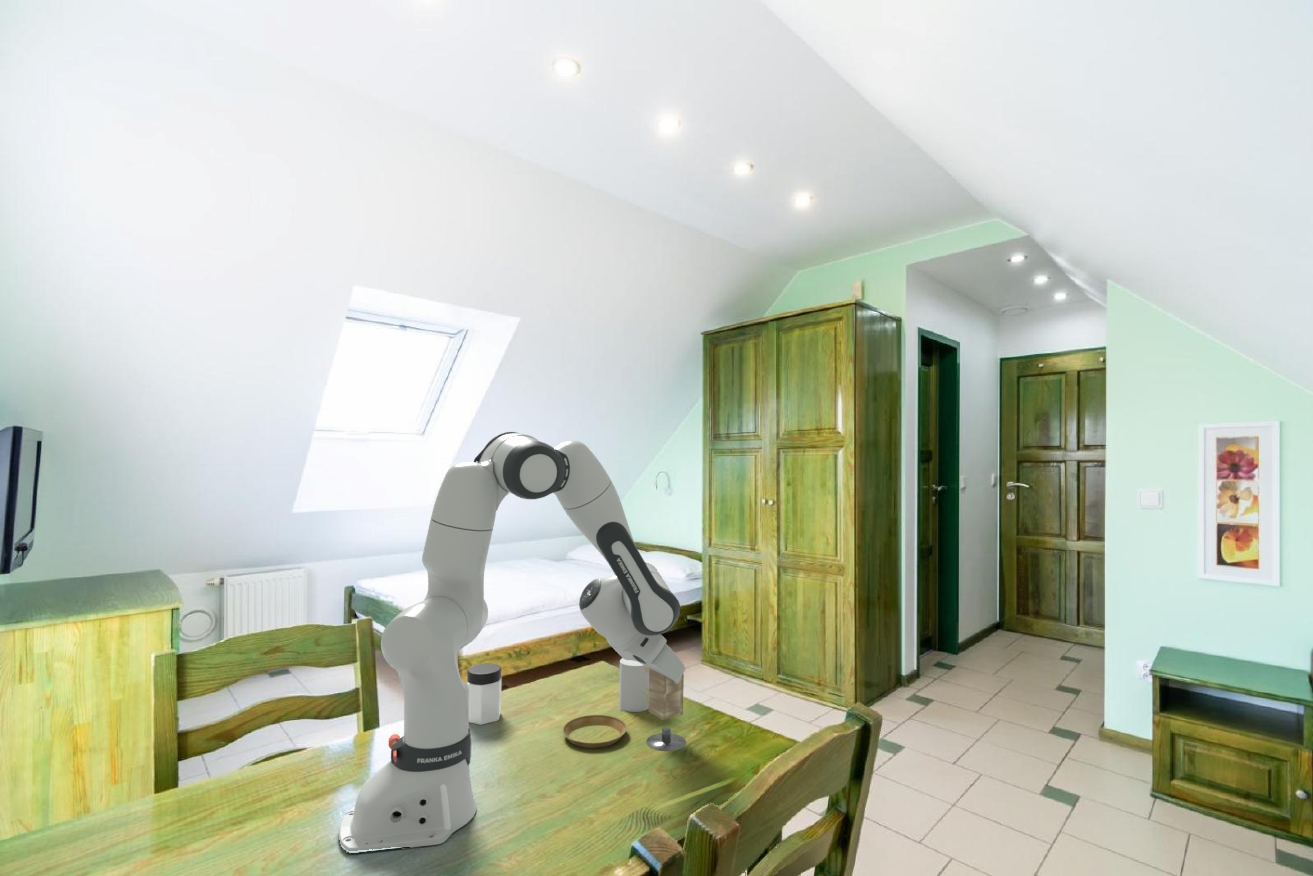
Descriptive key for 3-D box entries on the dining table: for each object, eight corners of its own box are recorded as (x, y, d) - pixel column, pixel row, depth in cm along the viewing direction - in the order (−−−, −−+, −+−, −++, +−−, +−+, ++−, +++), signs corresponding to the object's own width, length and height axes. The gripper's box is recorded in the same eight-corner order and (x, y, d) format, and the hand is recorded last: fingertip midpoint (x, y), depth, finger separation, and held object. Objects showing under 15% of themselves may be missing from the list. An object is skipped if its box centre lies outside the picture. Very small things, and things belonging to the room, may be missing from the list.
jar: (494, 708, 161) (495, 660, 161) (507, 718, 154) (508, 669, 155) (459, 716, 155) (460, 667, 156) (471, 728, 149) (472, 676, 149)
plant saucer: (624, 755, 137) (625, 743, 137) (557, 754, 137) (557, 742, 137) (628, 726, 152) (628, 715, 152) (567, 725, 152) (567, 714, 152)
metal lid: (661, 757, 135) (661, 741, 135) (638, 741, 143) (638, 726, 143) (694, 747, 140) (694, 731, 140) (670, 732, 148) (670, 717, 148)
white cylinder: (650, 714, 158) (650, 666, 158) (618, 713, 158) (618, 665, 158) (651, 702, 166) (651, 656, 166) (620, 701, 166) (621, 655, 167)
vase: (662, 720, 138) (663, 669, 138) (648, 711, 143) (649, 662, 143) (686, 713, 142) (687, 664, 142) (672, 705, 146) (672, 657, 147)
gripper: (600, 638, 145) (635, 673, 150) (649, 663, 128) (687, 702, 133) (617, 616, 147) (651, 651, 152) (667, 638, 130) (704, 677, 135)
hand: (668, 675), depth 142 cm, fingers closed on vase, 6 cm apart
